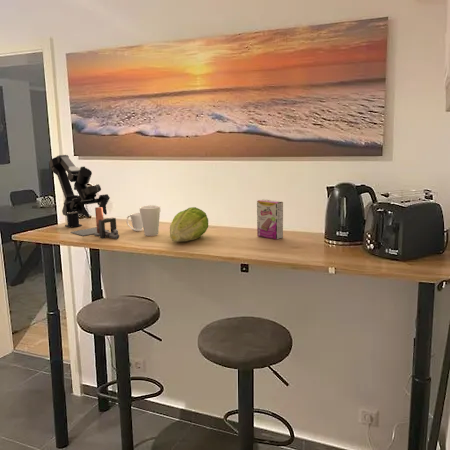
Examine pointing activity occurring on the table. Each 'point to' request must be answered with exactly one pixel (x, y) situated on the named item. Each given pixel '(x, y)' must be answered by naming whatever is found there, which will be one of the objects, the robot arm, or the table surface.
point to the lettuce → (188, 225)
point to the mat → (86, 231)
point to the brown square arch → (102, 226)
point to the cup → (136, 221)
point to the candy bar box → (270, 219)
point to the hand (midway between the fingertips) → (97, 215)
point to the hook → (98, 217)
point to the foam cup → (150, 219)
